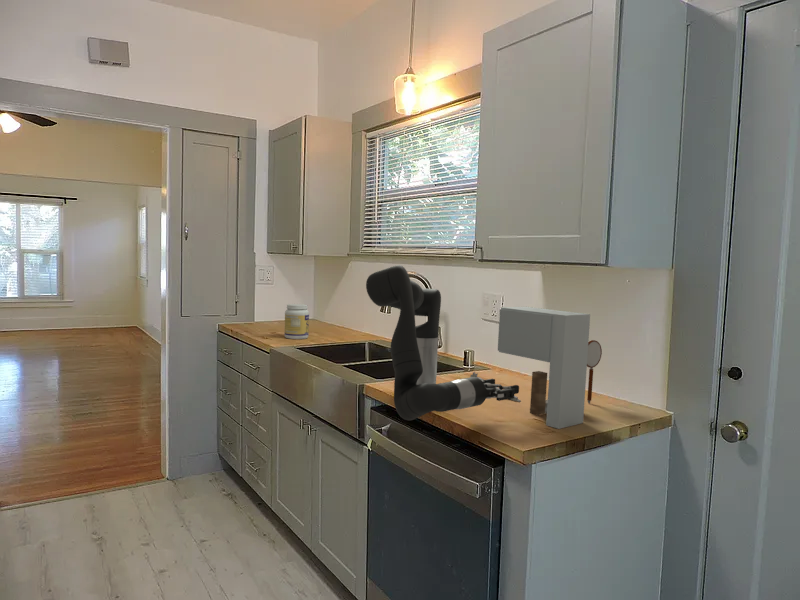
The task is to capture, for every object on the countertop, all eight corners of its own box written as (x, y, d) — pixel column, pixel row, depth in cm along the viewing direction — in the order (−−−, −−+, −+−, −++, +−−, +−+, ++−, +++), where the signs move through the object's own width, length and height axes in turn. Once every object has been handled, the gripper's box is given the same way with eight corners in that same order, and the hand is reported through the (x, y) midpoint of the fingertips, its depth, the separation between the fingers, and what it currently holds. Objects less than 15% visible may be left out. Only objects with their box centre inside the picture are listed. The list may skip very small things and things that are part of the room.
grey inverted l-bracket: (494, 409, 169) (499, 307, 166) (520, 404, 176) (526, 306, 174) (557, 429, 152) (564, 315, 149) (583, 422, 159) (590, 314, 156)
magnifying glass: (582, 405, 178) (586, 341, 176) (578, 404, 179) (582, 340, 178) (599, 402, 183) (604, 339, 181) (595, 401, 184) (599, 339, 183)
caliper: (468, 390, 194) (469, 371, 194) (470, 389, 195) (471, 371, 194) (519, 402, 179) (520, 382, 179) (521, 402, 180) (522, 382, 180)
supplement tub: (309, 339, 290) (310, 306, 289) (284, 339, 287) (285, 305, 286) (307, 336, 302) (308, 304, 300) (284, 335, 299) (284, 303, 298)
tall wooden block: (529, 412, 167) (532, 371, 166) (547, 409, 172) (549, 369, 171) (538, 415, 165) (540, 373, 164) (555, 411, 170) (558, 371, 169)
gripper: (485, 384, 143) (527, 377, 153) (445, 373, 154) (487, 367, 164) (483, 414, 144) (525, 405, 154) (444, 401, 155) (485, 393, 165)
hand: (505, 385), depth 159 cm, fingers open, 8 cm apart
